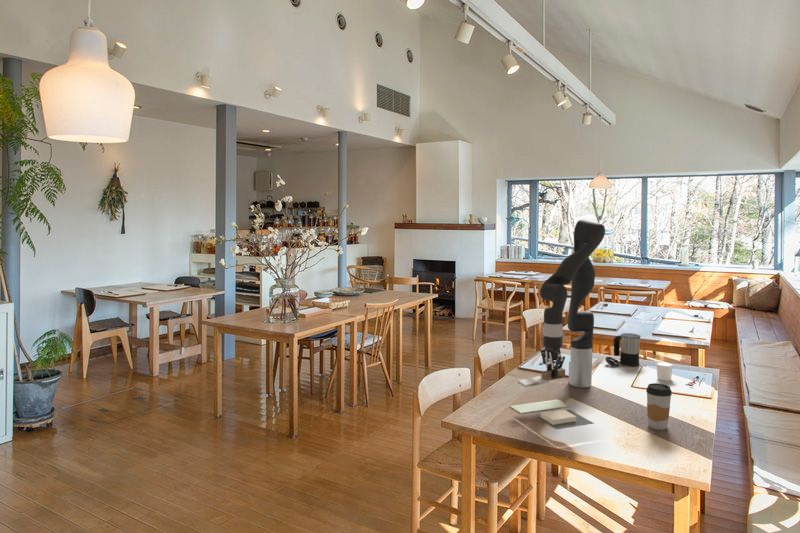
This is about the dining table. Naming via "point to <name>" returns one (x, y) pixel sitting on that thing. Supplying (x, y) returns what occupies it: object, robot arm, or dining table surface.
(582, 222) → the robot arm
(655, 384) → the coffee cup
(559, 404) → the board
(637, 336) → the milk frother
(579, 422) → the mat
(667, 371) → the white cup
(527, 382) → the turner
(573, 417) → the tile
